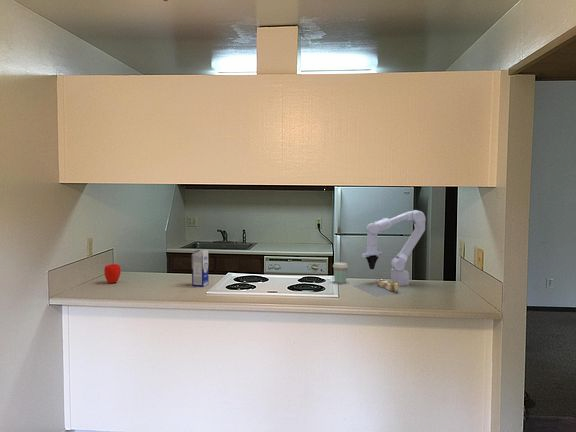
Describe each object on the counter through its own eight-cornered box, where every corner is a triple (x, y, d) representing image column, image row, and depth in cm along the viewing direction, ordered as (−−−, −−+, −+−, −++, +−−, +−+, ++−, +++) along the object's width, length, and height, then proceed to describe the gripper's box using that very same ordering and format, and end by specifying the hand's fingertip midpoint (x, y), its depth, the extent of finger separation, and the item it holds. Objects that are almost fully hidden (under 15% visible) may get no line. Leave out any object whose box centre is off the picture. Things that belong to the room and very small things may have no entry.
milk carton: (203, 287, 247) (202, 251, 246) (192, 286, 249) (191, 250, 248) (208, 284, 254) (208, 249, 253) (197, 283, 256) (197, 248, 255)
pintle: (382, 279, 247) (382, 278, 247) (384, 280, 246) (384, 279, 245) (379, 279, 247) (379, 278, 247) (380, 280, 245) (381, 279, 245)
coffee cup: (350, 285, 253) (350, 264, 252) (336, 286, 250) (336, 265, 249) (343, 282, 261) (344, 261, 260) (330, 283, 258) (330, 262, 257)
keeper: (388, 290, 236) (388, 280, 236) (392, 290, 237) (393, 280, 236) (394, 293, 230) (395, 283, 229) (399, 293, 230) (399, 283, 230)
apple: (119, 284, 254) (119, 265, 253) (103, 284, 252) (102, 265, 251) (121, 280, 263) (121, 262, 262) (106, 281, 261) (105, 263, 260)
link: (375, 285, 248) (376, 279, 248) (382, 284, 249) (383, 279, 249) (391, 291, 233) (391, 285, 233) (398, 290, 234) (398, 285, 234)
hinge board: (380, 285, 253) (380, 283, 253) (406, 295, 230) (406, 293, 230) (352, 287, 247) (352, 285, 247) (376, 298, 224) (376, 296, 224)
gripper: (375, 243, 258) (375, 266, 259) (357, 245, 249) (357, 269, 250) (385, 244, 253) (384, 268, 254) (367, 246, 244) (367, 271, 245)
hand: (371, 269), depth 252 cm, fingers closed
